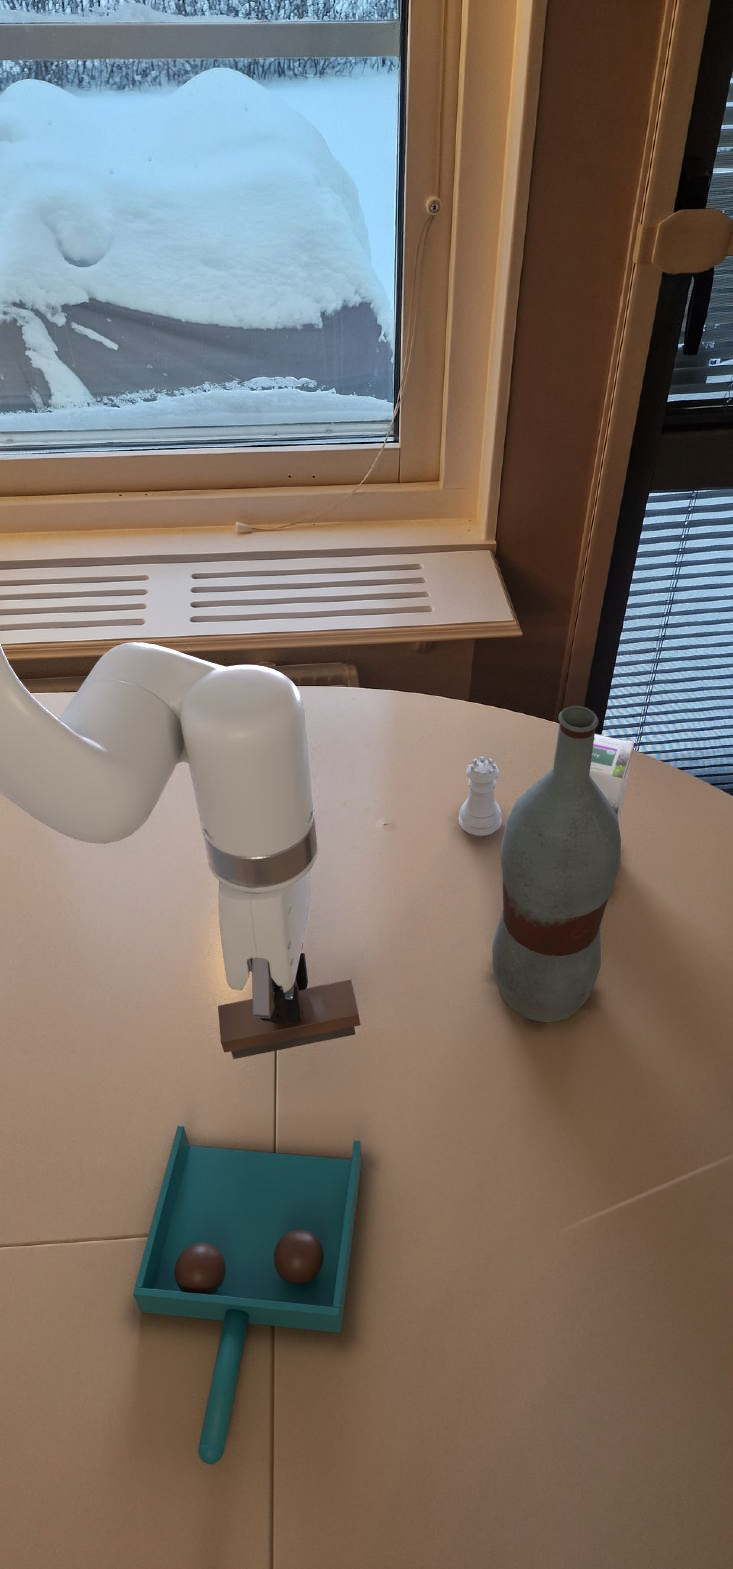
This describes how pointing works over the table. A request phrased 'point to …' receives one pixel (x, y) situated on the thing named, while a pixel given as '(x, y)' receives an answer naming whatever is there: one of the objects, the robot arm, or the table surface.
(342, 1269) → the dustpan
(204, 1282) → the ball left
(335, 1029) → the brush
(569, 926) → the bottle
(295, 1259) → the ball right
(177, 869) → the table surface
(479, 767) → the rook chess piece
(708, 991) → the table surface
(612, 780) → the syrup box
